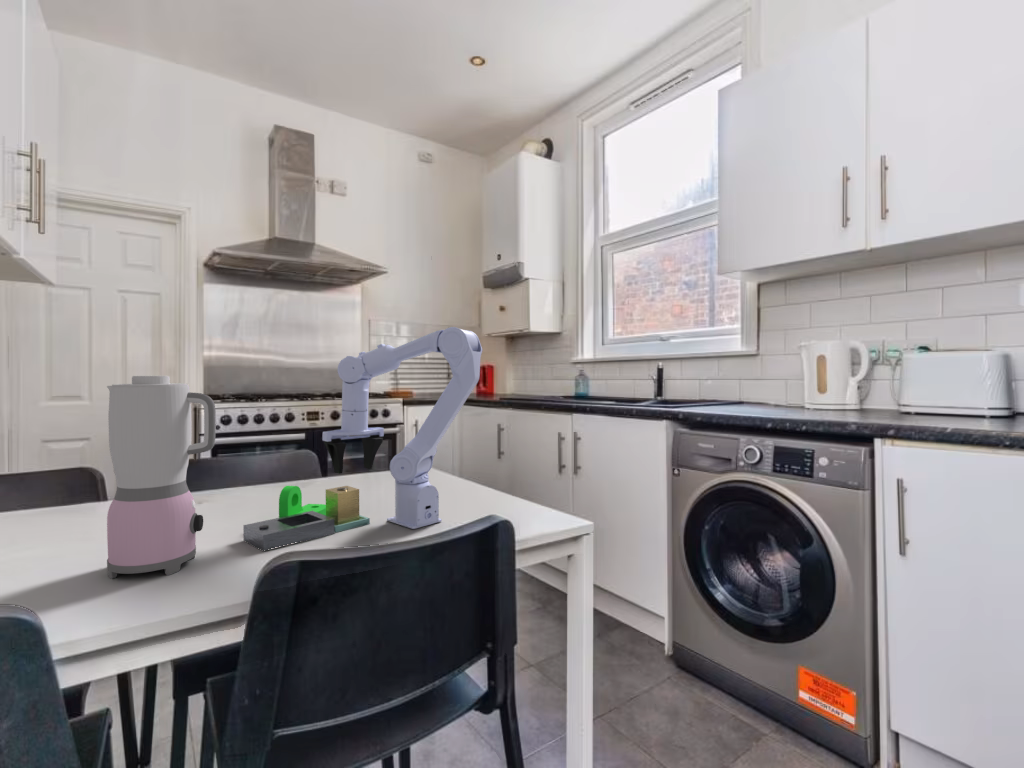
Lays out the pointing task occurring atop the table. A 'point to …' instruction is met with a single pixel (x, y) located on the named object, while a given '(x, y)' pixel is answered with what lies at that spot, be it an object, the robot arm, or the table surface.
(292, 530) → the grey slotted block
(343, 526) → the tray
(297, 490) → the mechanical part
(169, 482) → the blender
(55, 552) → the table surface
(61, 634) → the table surface
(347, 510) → the block
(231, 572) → the table surface
